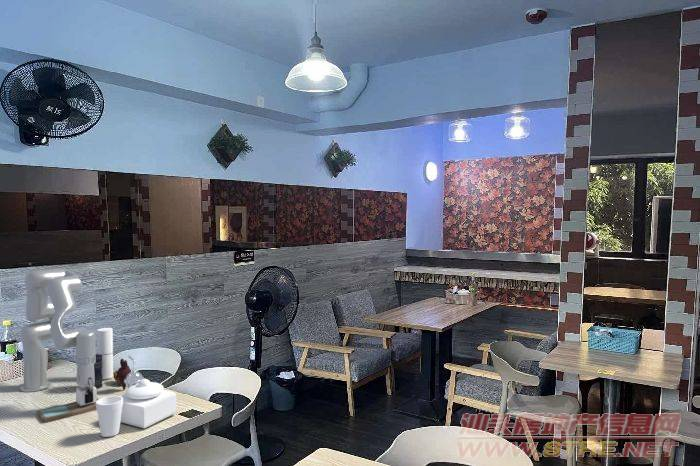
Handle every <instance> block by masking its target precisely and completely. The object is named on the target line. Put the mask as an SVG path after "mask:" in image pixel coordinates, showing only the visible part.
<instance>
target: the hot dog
mask: <svg viewBox="0 0 700 466" xmlns="http://www.w3.org/2000/svg"><path fill="white" fill-rule="evenodd" d="M117 371H118V370H115V371H113V379H114V381H115V382H116V383H117V384H118V385H121V383H120V380H119V379H117V378H116V376H117ZM121 386H122V385H121Z"/></svg>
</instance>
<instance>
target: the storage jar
mask: <svg viewBox="0 0 700 466" xmlns="http://www.w3.org/2000/svg"><path fill="white" fill-rule="evenodd" d="M102 366H103V365H102V355H100V354H98V353H96V362H95V363H94V373H95V385H94V387H96V388H97V390H99V389H101V388H102V387H103V381H104V379H103V378H102V377H103V376H102ZM87 386H88V385H87Z"/></svg>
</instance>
